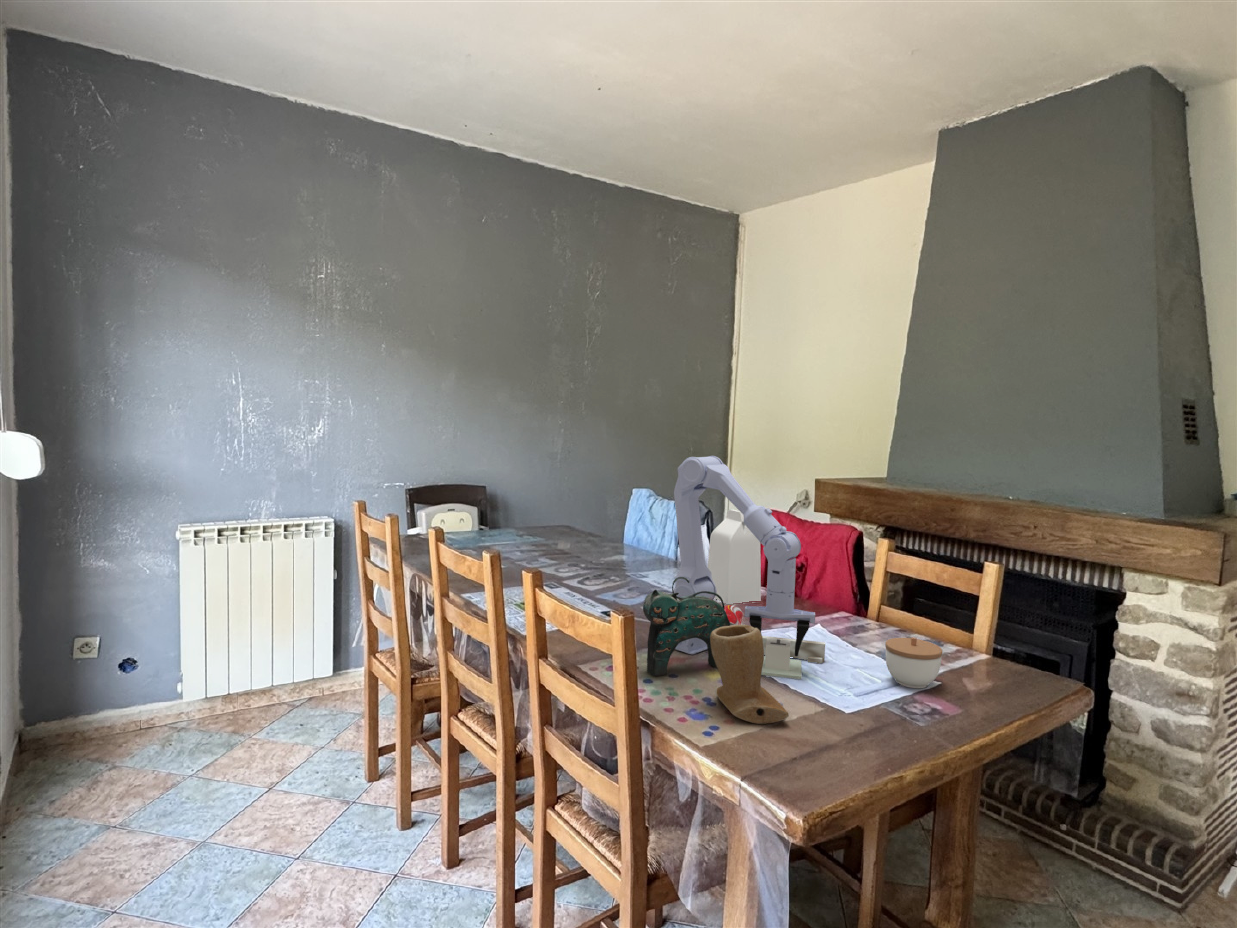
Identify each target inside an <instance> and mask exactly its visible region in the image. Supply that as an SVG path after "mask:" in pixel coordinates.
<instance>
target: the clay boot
mask: <svg viewBox="0 0 1237 928" xmlns="http://www.w3.org/2000/svg"><path fill="white" fill-rule="evenodd" d="M762 636H763V635H762V631H761V632H760V630H759V629H758V628H754V627H752V626H751V625H749V624H744V625H731V626H723V627H720V628H717V629H715V630H713V631H712V633H711V635H710V643H711V650H712V655H713V657H714V660H715V663H716V665H717V668H716V669H717V670H718V673H719V676H720V680H721V684H722V685H720V686H719V687H718V688H717V689H716V695H717V698H718V700H719V701H720V702H721V703H722V704H723V706H724V707H725V708H726V709H727V710H729V712H730V713H731V715H733V716H734V717H736V718H738V719H740V720H743V721H745V722H749V723H753V724H759V725H760V724H763V725H764V724H765V725H766V724H773V723H776V722H780V721H784V720H786V719H787V718H788V717H789V715H790V714H789V712H788V711H787V710H786V708H784V706H783V705H782V704H781V703H780V702H779V701H778V700H777V699H776V698H775V697H774V696H773V695H772V694H771V693H770V692H769V691H768V690H767V689H765V687H762V686H761V684H762V683H761V680H762V679H761V678H762V675H761V672H762V667H763V661H764V647H763V638H762Z"/></svg>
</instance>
